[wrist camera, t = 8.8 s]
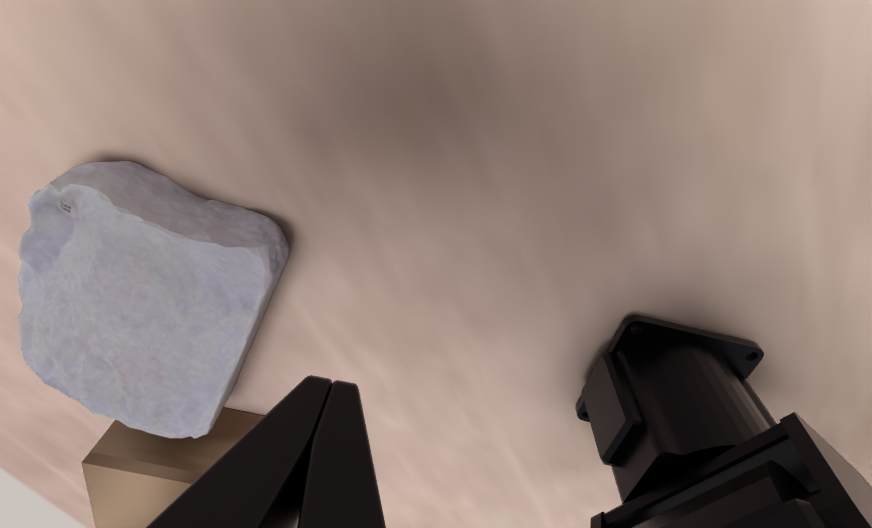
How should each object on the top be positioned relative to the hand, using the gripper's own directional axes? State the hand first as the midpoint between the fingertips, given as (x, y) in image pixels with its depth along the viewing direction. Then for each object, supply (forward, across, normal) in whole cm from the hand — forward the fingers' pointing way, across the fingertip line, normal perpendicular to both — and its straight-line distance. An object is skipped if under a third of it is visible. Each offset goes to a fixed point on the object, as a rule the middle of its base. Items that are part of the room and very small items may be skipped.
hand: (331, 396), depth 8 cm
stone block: (+13, +10, +8) cm, 18 cm away
